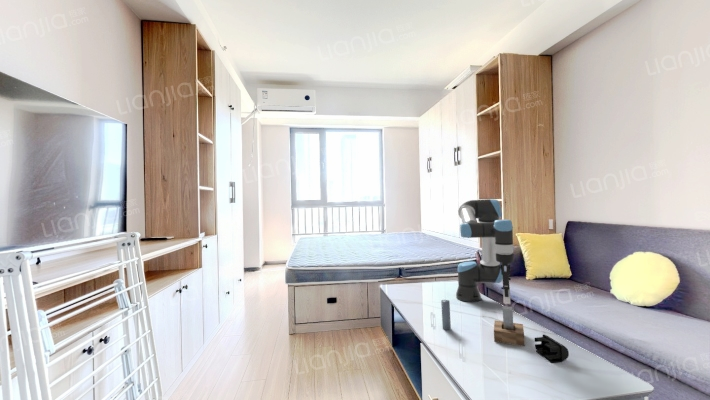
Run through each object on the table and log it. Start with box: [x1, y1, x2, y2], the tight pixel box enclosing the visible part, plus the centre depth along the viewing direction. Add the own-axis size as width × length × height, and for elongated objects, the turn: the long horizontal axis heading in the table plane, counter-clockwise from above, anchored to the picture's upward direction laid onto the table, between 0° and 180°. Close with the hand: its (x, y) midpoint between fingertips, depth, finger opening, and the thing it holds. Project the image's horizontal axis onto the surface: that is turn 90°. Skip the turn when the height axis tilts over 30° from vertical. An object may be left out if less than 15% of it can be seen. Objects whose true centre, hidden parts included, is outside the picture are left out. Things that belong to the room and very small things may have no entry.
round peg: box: [440, 299, 452, 331], centre depth 147 cm, size 4×4×14 cm
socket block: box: [493, 320, 526, 347], centre depth 134 cm, size 12×12×5 cm
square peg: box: [502, 305, 514, 330], centre depth 134 cm, size 4×4×14 cm
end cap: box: [534, 334, 570, 364], centre depth 117 cm, size 10×7×7 cm
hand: (506, 298), depth 135 cm, fingers open, 13 cm apart
